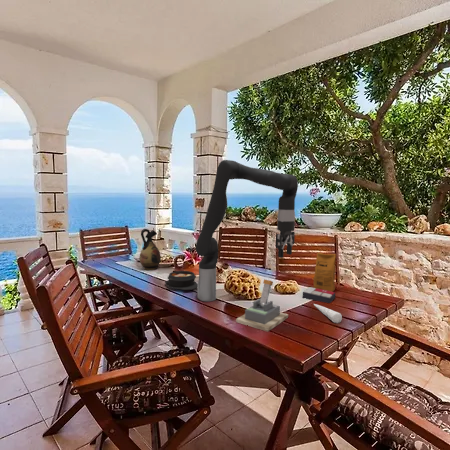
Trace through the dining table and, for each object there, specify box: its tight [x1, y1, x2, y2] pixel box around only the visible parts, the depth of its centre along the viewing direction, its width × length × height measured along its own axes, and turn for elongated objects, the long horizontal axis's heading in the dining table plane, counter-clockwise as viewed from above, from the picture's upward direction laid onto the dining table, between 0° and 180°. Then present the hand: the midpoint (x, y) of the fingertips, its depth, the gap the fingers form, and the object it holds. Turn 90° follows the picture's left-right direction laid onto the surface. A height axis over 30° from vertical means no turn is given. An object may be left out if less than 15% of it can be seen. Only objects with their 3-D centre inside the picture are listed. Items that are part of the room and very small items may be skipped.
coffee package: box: [312, 252, 337, 292], centre depth 191 cm, size 10×12×22 cm
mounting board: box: [235, 311, 289, 333], centre depth 147 cm, size 19×16×2 cm
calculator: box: [302, 286, 336, 304], centre depth 178 cm, size 11×4×15 cm
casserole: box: [164, 270, 198, 291], centre depth 195 cm, size 25×19×8 cm
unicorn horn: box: [313, 303, 343, 324], centre depth 155 cm, size 5×24×5 cm, turn 7°
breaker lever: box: [258, 278, 274, 307], centre depth 147 cm, size 3×4×12 cm
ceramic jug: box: [139, 228, 162, 271], centre depth 239 cm, size 17×15×30 cm
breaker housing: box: [244, 298, 281, 324], centre depth 146 cm, size 14×10×7 cm
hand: (284, 255), depth 145 cm, fingers open, 8 cm apart
